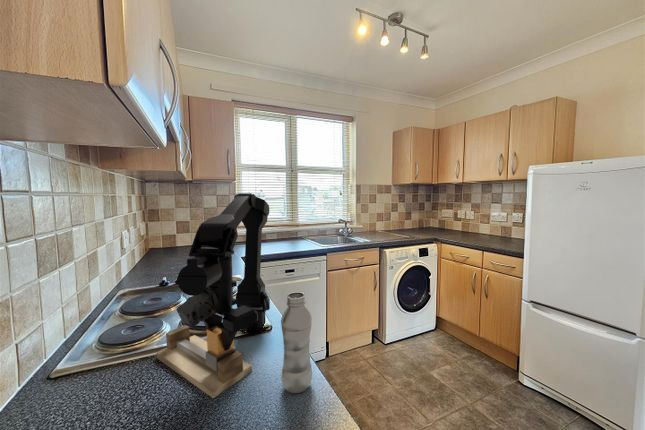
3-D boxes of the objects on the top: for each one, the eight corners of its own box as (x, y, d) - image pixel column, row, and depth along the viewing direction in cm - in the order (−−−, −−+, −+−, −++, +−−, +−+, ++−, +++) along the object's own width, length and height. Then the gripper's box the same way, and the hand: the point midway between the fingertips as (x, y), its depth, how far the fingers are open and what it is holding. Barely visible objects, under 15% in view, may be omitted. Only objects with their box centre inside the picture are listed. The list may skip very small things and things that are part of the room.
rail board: (194, 340, 75) (194, 321, 75) (251, 371, 61) (251, 348, 61) (156, 358, 67) (155, 337, 66) (213, 398, 53) (212, 372, 53)
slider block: (225, 353, 63) (224, 321, 62) (236, 359, 60) (235, 325, 60) (206, 365, 59) (204, 330, 58) (216, 371, 56) (215, 335, 56)
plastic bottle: (275, 386, 56) (273, 295, 55) (299, 372, 61) (298, 287, 60) (294, 403, 52) (292, 304, 50) (319, 386, 56) (318, 294, 55)
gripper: (159, 280, 57) (162, 350, 58) (210, 299, 46) (213, 384, 47) (207, 268, 66) (209, 329, 67) (258, 282, 55) (260, 353, 57)
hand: (220, 346), depth 59 cm, fingers closed on slider block, 4 cm apart
